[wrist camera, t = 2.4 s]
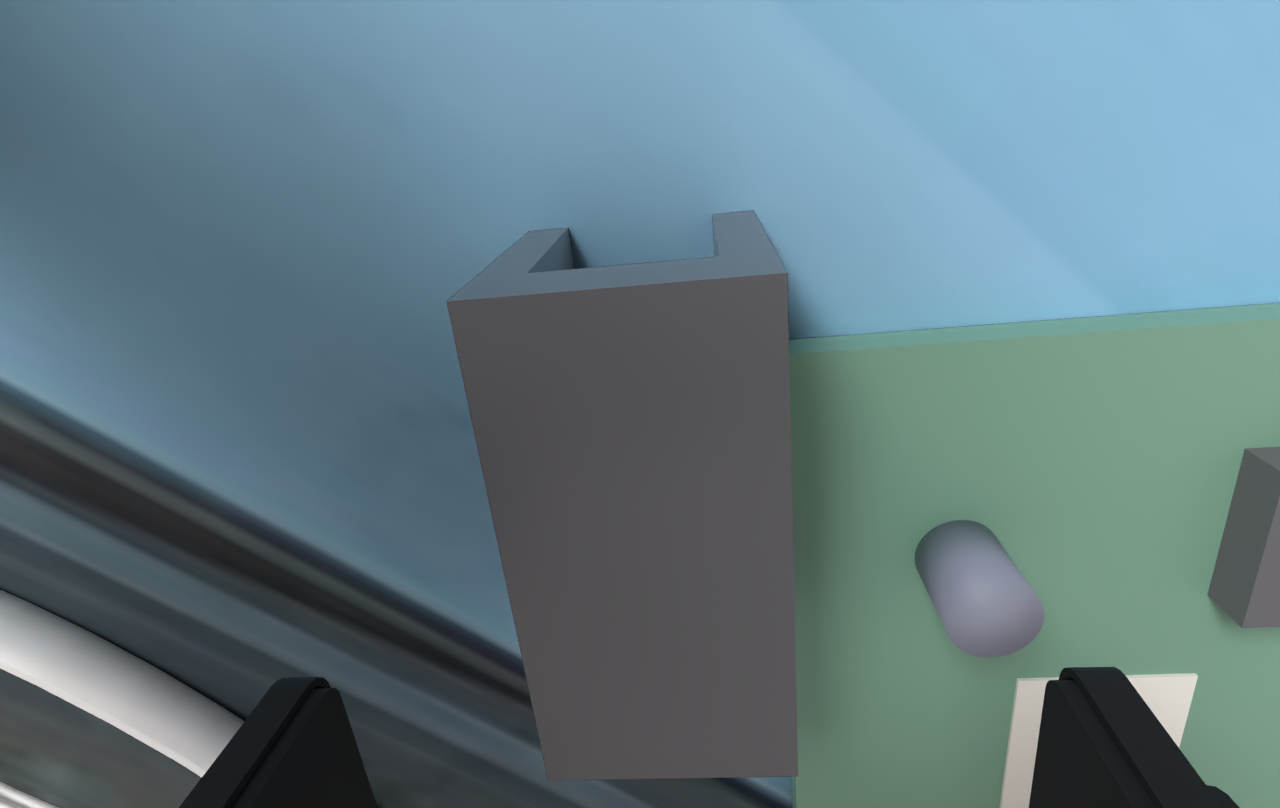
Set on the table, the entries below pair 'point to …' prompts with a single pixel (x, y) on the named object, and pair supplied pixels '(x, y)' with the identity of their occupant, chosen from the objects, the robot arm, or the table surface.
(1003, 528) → the board
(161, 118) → the table surface
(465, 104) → the table surface
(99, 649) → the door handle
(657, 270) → the block
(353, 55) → the table surface
